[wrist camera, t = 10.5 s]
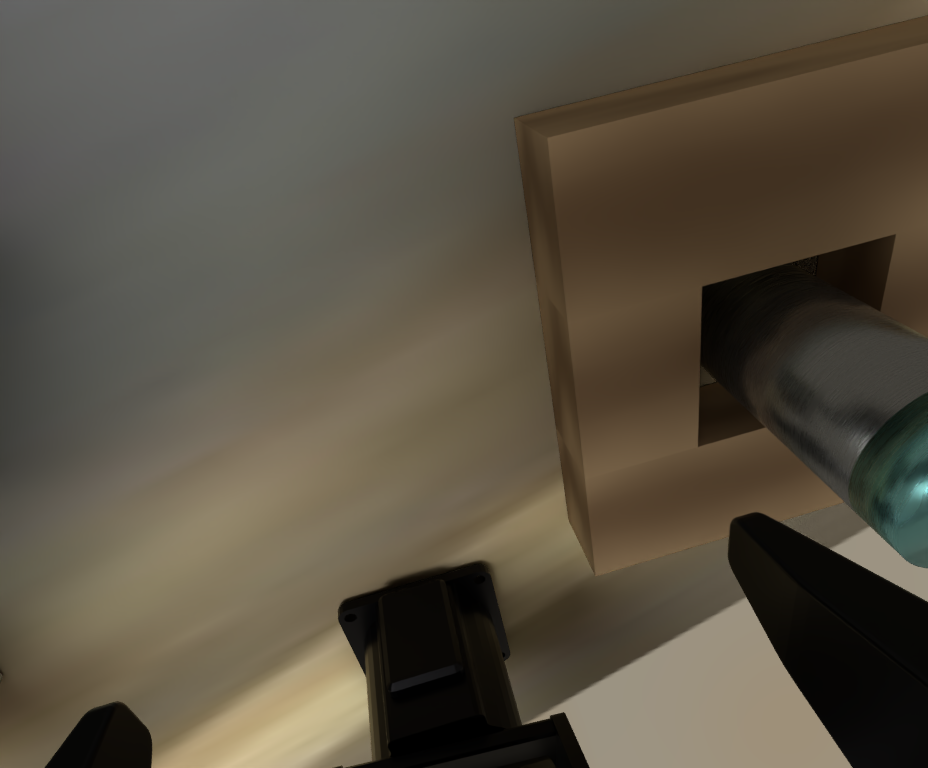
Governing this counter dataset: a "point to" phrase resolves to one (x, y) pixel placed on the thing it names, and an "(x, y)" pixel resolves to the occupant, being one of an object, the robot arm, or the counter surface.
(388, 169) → the counter surface
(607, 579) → the counter surface
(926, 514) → the grey and teal cylinder
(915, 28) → the dock
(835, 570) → the robot arm
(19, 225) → the counter surface
